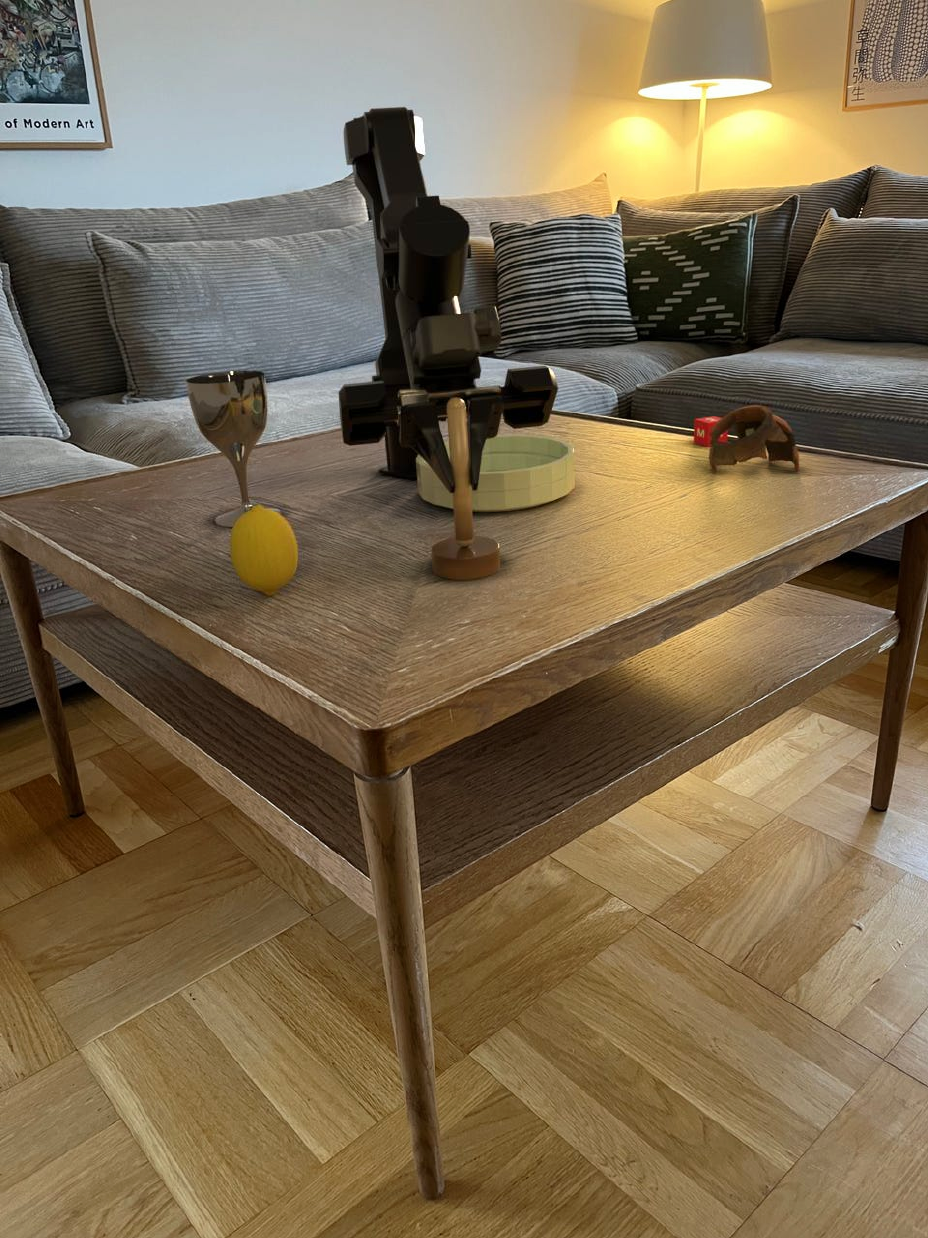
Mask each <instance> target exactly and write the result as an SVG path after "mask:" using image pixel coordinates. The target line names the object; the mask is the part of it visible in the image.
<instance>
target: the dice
mask: <svg viewBox="0 0 928 1238" xmlns="http://www.w3.org/2000/svg"><path fill="white" fill-rule="evenodd" d="M722 418H723V417H719V416H715V415H712V416H707V417H706V416H705V417H699V418H694V423H693V424H694V427H693V443H694V444H695V443H696V444H698V445H701V446H704V447H711V444H710V441H711V439H712V438H711V436H710V435H709V434H710V431H711V429H712V428H713V426H714V425H715V424H716V423H717V422H718V421H719V420H720V419H722ZM728 433H729V429H727V430H726V431H725V432H724V433H723V434H722V435H721V436H720V437H719V439H718V441H720V442H728Z"/></svg>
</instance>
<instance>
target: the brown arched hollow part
mask: <svg viewBox="0 0 928 1238" xmlns="http://www.w3.org/2000/svg"><path fill="white" fill-rule="evenodd" d="M721 418H722V419H720V420H719V421H718V422H717V423H716V424H715V425H714V426H713V428H712V429H711V431H710V434H709V435H710V436H711V438H712V439H711V441H710V444H711V446H709V447H710V448H709V454H708V461H709V466H710V469H711V471H712V472H713V473H715V472H716V471H717V466H718V467H719V466H732V467H733V466H736V465H737V464H738V463H740V464H741V463H746V462H748V461H750V460H752V459H756V458H759V459H760V458H761V459H762V460H767V461H768V462H769V463H773V462H779V461H784V462H790V463H792V464H793V465H794V470H795V472H796V473H799V472H800V470H801V466H800V453H799V449H798V447H797V444H796V439H795V435H794V432H793V430H792V428H791V426H790V425H789V423H788V422H787V421H786V420H784V419H782V418H781V417H780V416H778V415H776V414H773V413H772V410H771V409H770V408H769V407H767V406H764V405H762V404H752V405H751V404H750V405H747V406H742V407H740V408H737V409H735V410H733V411H730V412H729V413H727V414H726V415H724V416H723V417H721ZM732 427H733V431H734V433H735V434H736V437H737V439H736V440H733V441H727V442H720V441H718V439H719V437H720V436H721V435H722V434H723V433H724V432H725V431H726V430H727V429H728V430H729V429H731V428H732Z"/></svg>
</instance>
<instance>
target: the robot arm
mask: <svg viewBox="0 0 928 1238" xmlns="http://www.w3.org/2000/svg"><path fill="white" fill-rule="evenodd" d="M343 146H344V155H345V162H346V166H352V174H353V183H354V185H355V187H356V189H357V190H358V192H359V193H360V194H361V195H362V197H363V199H365V201H366V203H367V204H368V205H369V207H370V213H371V220H372V228H373V229H372V230H373V238H374V239H373V240H374V248H375V249H374V250H375V263H376V268H377V269H376V270H377V274H378V283H379V291H380V292H379V293H380V300H381V309H382V310H381V311H382V318H383V328H384V337H385V339H384V341H383V344H382V345H381V348H380V350H379V353H378V356H377V358H376V360H375V365H374V366H375V375H371V381H366V382H365V381H364V382H356V383H345V384H343V385H342V386H341V387H340V389H339V391H338V392H337V394H338V407H339V420H340V421H339V422H340V426H341V427H340V429H341V436H342V442H343V444H344V445H347V446H349V447H352V446H361V445H362V446H363V445H372V444H379V443H380V442H381V441H382V440H383V438H384V446H385V456H386V465H385V466H382V467H380V468H378V474H382V475H388V476H393V477H398V478H399V477H400V478H404V479H410V480H417V469H416V458H417V456H418V454H419V455H420V456H421V457H422V458H423V459H424V460H425V461H426V462H427V463H428V464H429V466H430V467H431V468H432V469H433V471H434V472H435V474H436V475H437V476H438V478H439V479H440V480H441V482H442V483H443V484H444V486H445V487H446V488H447V490H448V491H449V492H450V493H455V481H454V474H453V470H452V466H451V463H450V460H449V456H448V453H447V450H446V447H445V443H444V442H445V440H444V437H443V434H442V431H441V427H440V422H443V423H445V422H447V403H448V401H449V400H450V399H452V398H455V397H457V398H460V399H462V400H463V401H464V402H465V405H466V418H467V435H468V451H469V468H470V484H471V487H472V490H473V491H476V490H477V488H478V483H479V475H480V467H481V460H482V452H483V449H484V445H485V442H486V440H487V439H491V438H494V437H496V436H497V435H499V434H498V433H499V430H500V424H501V421H502V419H503V423H504V424H506V425H507V426H509V427H511V428H512V429H515V430H517V429H525V428H537V427H542V426H544V425H546V424H548V423H549V420H550V417H551V414H552V410H553V408H554V404H555V400H556V398H557V394H558V391H559V386H558V382H557V378H556V374H555V372H554V371H553V370H552V369H551V367H550V368H549V366H546V365H538V366H537V365H535V366H525V367H517V368H515V367H514V368H507V371H506V376H505V380H504V385H503V386H501V385H488V386H478V387H477V381H476V380H478V379H481V374H482V367H481V362H480V358H479V357H480V356H482V353H483V352H492V351H497V350H498V348H499V347H500V345H501V342H502V329H501V322H500V318H499V315H498V311H497V307H496V306H487V307H486V306H485V307H476V308H474V310H473V312H464V313H462V312H461V307H460V303H459V299H458V297H460V296H461V295H462V293H463V290H464V286H465V277H466V270H467V268H466V267H467V263H468V262H467V261H468V260H470V259H472V245H471V243H469V242H470V235H471V231H470V224H469V221H468V220H467V219H465V217H464V216H463V215H462V214H461V213H460V212H459V211H458V210H455V209H454V208H452V207H450V206H447V205H444V204H442V203H441V199H440V195H429V194H428V190H427V187H426V182H425V178H424V174H423V170H422V169H423V168H422V166H421V165H422V164H421V161H422V159H423V158H424V157H425V155H426V151H425V142H424V130H423V119H422V118H421V117H419V116H417V115H415V114H414V110H413V109H408V108H407V107H405V106H397V107H377V108H370V109H369V111H364V112H363V115H362V116H359V117H353V119H351V120H348V121H346V122H345V124H344V128H343Z"/></svg>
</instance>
